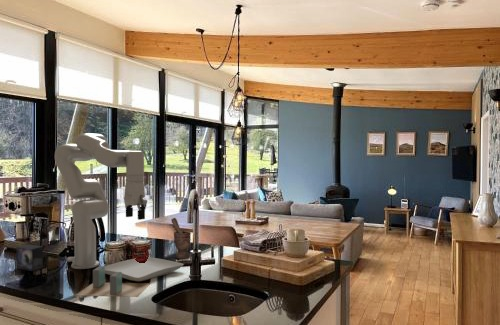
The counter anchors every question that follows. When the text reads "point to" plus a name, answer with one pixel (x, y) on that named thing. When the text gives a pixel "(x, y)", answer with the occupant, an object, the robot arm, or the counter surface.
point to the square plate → (143, 268)
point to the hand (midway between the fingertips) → (135, 218)
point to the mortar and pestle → (181, 241)
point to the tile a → (98, 276)
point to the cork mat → (126, 291)
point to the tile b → (115, 283)
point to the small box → (29, 257)
